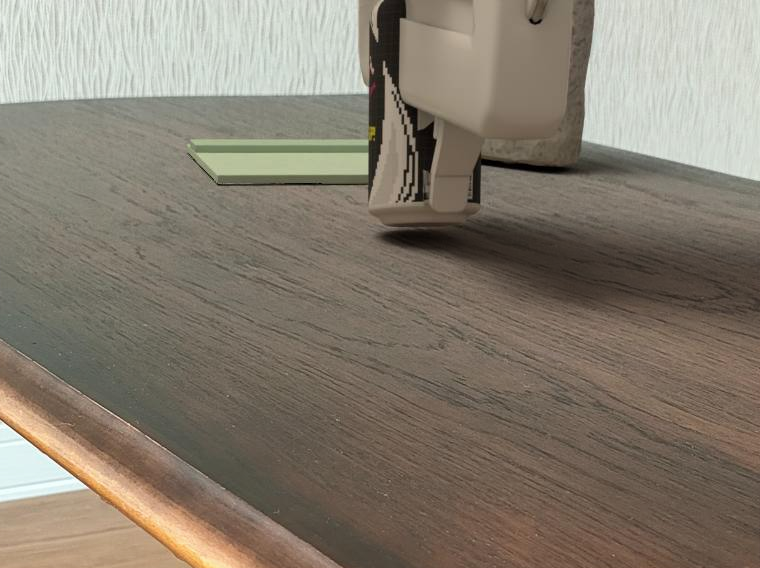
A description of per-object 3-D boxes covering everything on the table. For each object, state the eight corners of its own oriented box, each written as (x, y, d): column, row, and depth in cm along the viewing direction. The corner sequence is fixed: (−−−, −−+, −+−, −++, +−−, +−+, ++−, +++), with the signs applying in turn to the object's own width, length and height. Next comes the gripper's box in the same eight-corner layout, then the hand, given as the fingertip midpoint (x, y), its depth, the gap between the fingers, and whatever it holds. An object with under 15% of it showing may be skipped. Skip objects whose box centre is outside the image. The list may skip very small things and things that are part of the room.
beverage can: (381, 229, 78) (383, -3, 76) (488, 226, 76) (492, -12, 75) (356, 223, 73) (357, -26, 71) (469, 219, 71) (474, -37, 69)
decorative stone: (593, 167, 98) (624, -74, 92) (545, 176, 94) (575, -75, 88) (460, 146, 105) (480, -79, 99) (410, 154, 101) (429, -80, 94)
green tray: (411, 152, 101) (413, 136, 101) (468, 183, 91) (470, 165, 90) (186, 152, 99) (186, 136, 98) (217, 184, 88) (217, 166, 87)
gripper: (630, -94, 57) (584, 253, 63) (460, -97, 76) (436, 171, 81) (479, -99, 56) (446, 255, 62) (343, -101, 75) (327, 172, 80)
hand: (439, 207), depth 72 cm, fingers closed, pressing on beverage can
